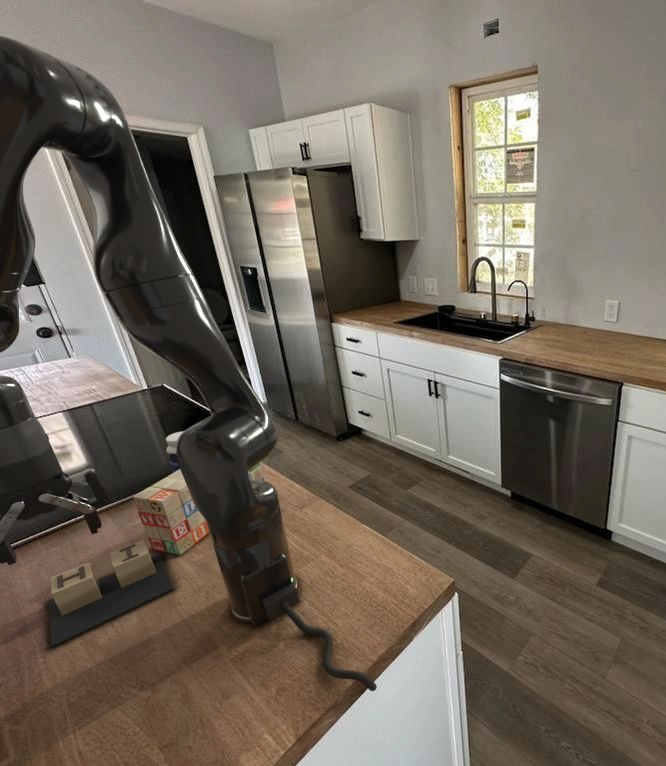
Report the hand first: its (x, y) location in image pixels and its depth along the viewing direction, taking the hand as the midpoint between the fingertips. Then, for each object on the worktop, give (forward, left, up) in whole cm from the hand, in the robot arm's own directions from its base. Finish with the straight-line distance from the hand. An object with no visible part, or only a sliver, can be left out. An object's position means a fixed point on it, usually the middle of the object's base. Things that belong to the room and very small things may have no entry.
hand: (56, 545), depth 62 cm
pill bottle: (+32, -20, -12) cm, 40 cm away
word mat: (-2, -3, -11) cm, 12 cm away
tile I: (+1, -7, -11) cm, 13 cm away
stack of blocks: (+9, -20, -12) cm, 25 cm away
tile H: (0, 0, -11) cm, 11 cm away
